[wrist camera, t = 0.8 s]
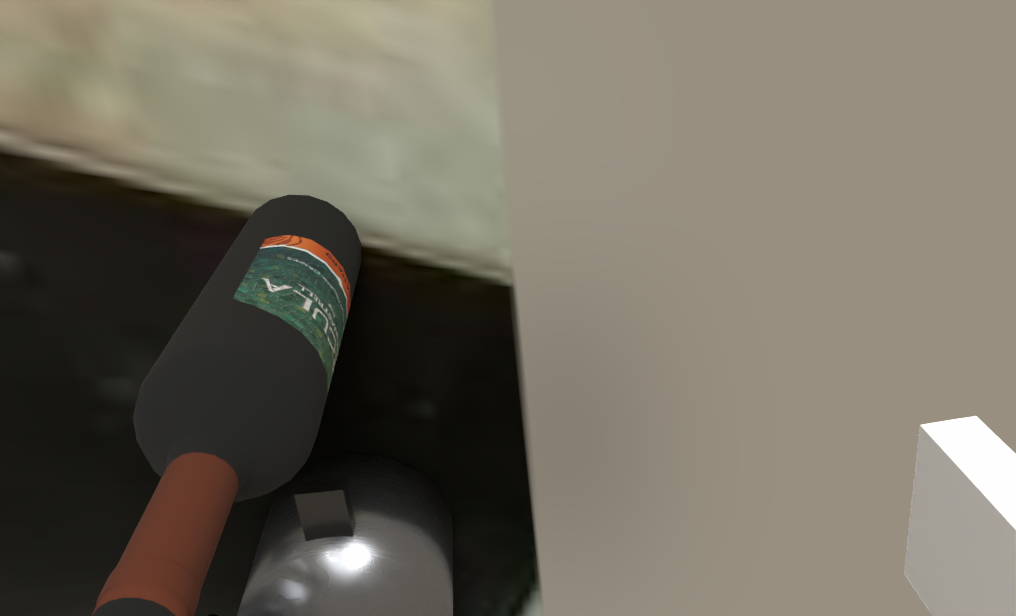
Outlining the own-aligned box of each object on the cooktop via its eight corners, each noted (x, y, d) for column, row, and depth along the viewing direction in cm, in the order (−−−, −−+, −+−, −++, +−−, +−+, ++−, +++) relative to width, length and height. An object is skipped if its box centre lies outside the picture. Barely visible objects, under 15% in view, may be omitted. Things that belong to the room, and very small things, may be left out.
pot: (297, 635, 66) (273, 749, 57) (237, 423, 57) (197, 520, 48) (466, 617, 66) (469, 727, 58) (435, 402, 57) (432, 495, 48)
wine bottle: (227, 201, 49) (-38, 551, 23) (350, 188, 50) (229, 520, 23) (256, 310, 53) (55, 726, 26) (371, 297, 53) (288, 698, 26)
